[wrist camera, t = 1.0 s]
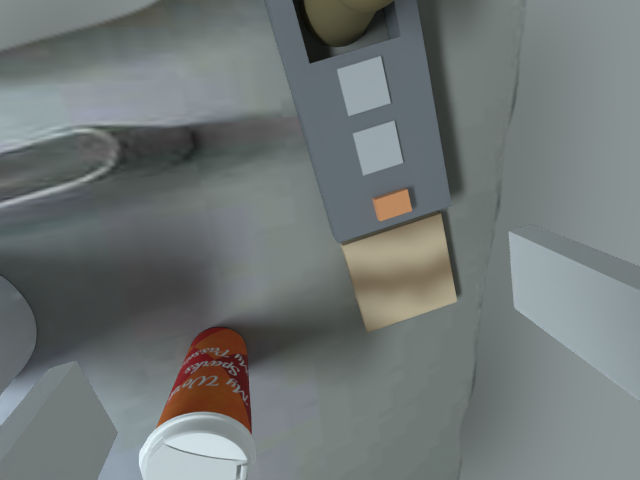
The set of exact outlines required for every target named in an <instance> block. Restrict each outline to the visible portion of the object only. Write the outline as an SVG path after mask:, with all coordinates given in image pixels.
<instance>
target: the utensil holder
mask: <svg viewBox="0 0 640 480" xmlns="http://www.w3.org/2000/svg"><path fill="white" fill-rule="evenodd" d="M36 337H37V329H36V322H35V318H34V315H33V313H32V310H31V308H30V306H29V304H28V303H27V301H26V300H25V298H24V297H23V296H22V294H21V293H20V292H19V291H18V290H17V289H16V288H15V287H14V286H13V285H12V284H11V283H10V282H9V281H8V280H6V279H5V278H4V277H2V276H1V275H0V395H1V394H2V393H3V391H4V390H5V389H6V388H7V387H8V385H9V384H10V383H11V382H12V381H13V380H14V378H15V377H16V376H17V375H18V374H19V373H20V371H21V370H22V369H23V368H24V366H25V365H26V364H27V362H28V361H29V359H30V357H31V355H32V353H33V351H34V348H35V344H36Z"/></svg>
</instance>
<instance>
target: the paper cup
mask: <svg viewBox="0 0 640 480" xmlns="http://www.w3.org/2000/svg"><path fill="white" fill-rule="evenodd" d="M255 460H256V445H255V441H254V439H253V436H252V427H251V407H250V394H249V374H248V358H247V348H246V344H245V342H244V340H243V338H242V337H241V336H240V335H239V334H238V333H237V332H235V331H233V330H231V329H228V328H223V327H215V328H210V329H207V330H205V331H203V332H201V333H200V334H199V335H198V336H197V337H196V338H195V339H194V341H193V342H192V344H191V346H190V349H189V351H188V353H187V355H186V358H185V360H184V362H183V365H182V367H181V369H180V372H179V374H178V376H177V379H176V381H175V384H174V386H173V388H172V391H171V393H170V396H169V398H168V401H167V403H166V405H165V408H164V410H163V413H162V415H161V418H160V420H159V422H158V425H157V427H156V429H155V430H154V431H153V432H152V433H151V435H150V436H149V437H148V439H147V440H146V442H145V444H144V446H143V447H142V449H141V450H140V453H139V465H140V469H141V473H142V477H143V479H144V480H247V477H248V475H249V474H250V472H251V471H252V469H253V466H254V464H255Z"/></svg>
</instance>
